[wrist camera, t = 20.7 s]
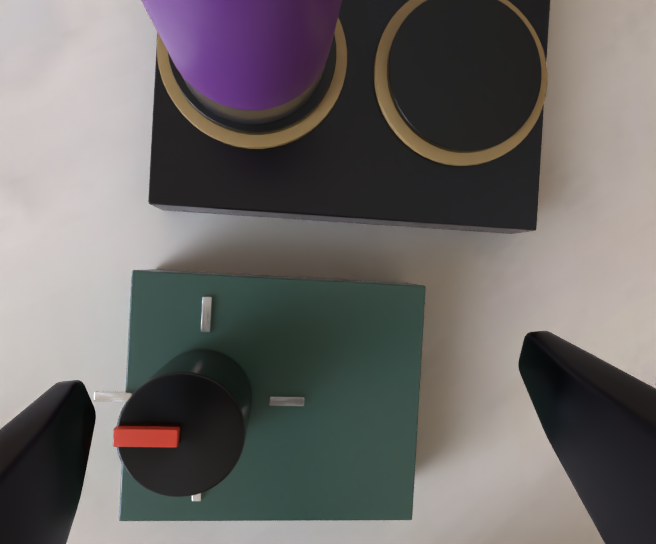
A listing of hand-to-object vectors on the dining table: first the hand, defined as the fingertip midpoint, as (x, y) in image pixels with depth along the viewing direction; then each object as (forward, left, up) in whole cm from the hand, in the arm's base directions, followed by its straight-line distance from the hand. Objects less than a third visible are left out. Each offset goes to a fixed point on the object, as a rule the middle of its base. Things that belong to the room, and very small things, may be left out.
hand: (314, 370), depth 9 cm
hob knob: (+2, +4, -10) cm, 11 cm away
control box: (0, +3, -13) cm, 13 cm away
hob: (+1, -11, -13) cm, 17 cm away
